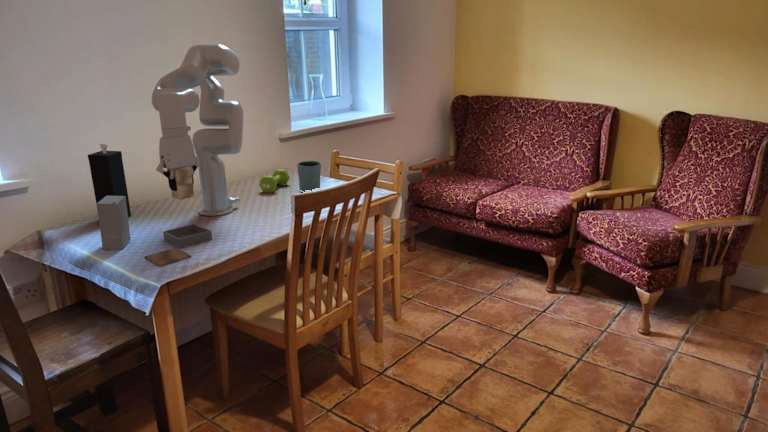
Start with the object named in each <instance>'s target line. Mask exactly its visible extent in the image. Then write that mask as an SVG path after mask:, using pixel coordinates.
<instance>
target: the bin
mask: <svg viewBox="0 0 768 432" xmlns="http://www.w3.org/2000/svg"><path fill="white" fill-rule="evenodd" d="M194 233H195V234H194ZM162 234H163V240H164V241H165V242H167V243H169V244H170V245H173V246H175V247H176V248H178V249H183V248H186V247H190V246H195V245H197V244H201V243H203V242H207V241H210V240H213V233H212V230H211V229H208V228H206V227H203V226H201V225H198V224H196V223H190V224H186V225H184V226H179V227H176V228H172V229H168V230H164V231H162ZM190 234H192V235H190ZM186 235H188V236H186ZM183 236H185V237H183ZM180 237H181V238H180Z"/></svg>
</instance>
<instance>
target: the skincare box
mask: <svg viewBox="0 0 768 432" xmlns="http://www.w3.org/2000/svg"><path fill="white" fill-rule="evenodd" d="M96 209H97V210H96V211H97V217H98V225H99V230H100V231H99V232H100V237H101V245H102V250H103V251H106V250H107V251H108V250H111V251H113V250H116V251H117V250H124V248H126V246H127V245H128V244H129V243H130V242H131V240H132V238H131V231H130V224H129V221H130V220H129V217H128V213H127V204H126V196H105V197H104V198H103V199H102V200H100V201H99V202H98V203H97V204H96Z"/></svg>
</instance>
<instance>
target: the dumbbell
mask: <svg viewBox="0 0 768 432" xmlns="http://www.w3.org/2000/svg"><path fill="white" fill-rule="evenodd" d="M290 178H291V177H290V174H289V172H288V171H287V170H286V169H284V168H277V169H275V171H274V172H273V174H272V175H264V176H261V178H260V181H259V183H258V185H259V188H260V189H261V191H262V192H263V193H264V194H265V193H266V194H272V192H273V193H274V192H275V191H276V190H277V187H278V186H281V185H284V184H286V185H287V184H288V182H289V181H290ZM277 184H279V185H277ZM284 186H285V185H284Z"/></svg>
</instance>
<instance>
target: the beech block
mask: <svg viewBox="0 0 768 432" xmlns="http://www.w3.org/2000/svg"><path fill="white" fill-rule="evenodd" d="M174 179H176V186H177V191H173V190H171V189H170V191H171V198H174V199H175V200H176V199H177V200H178V201H181V200H185V199H188V198H194V197H195V192H194V184H193V182H192V174H191V167H190V166H187V167H182V168H177V169H174Z"/></svg>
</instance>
